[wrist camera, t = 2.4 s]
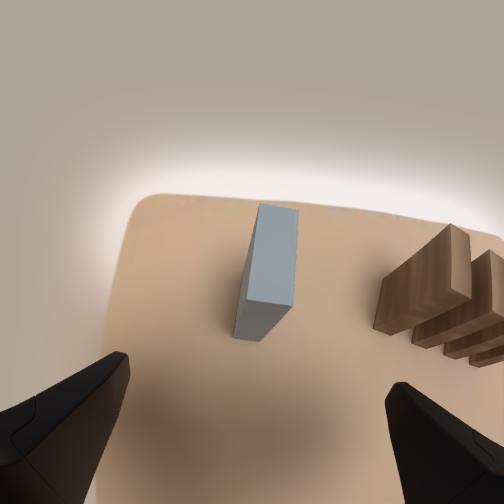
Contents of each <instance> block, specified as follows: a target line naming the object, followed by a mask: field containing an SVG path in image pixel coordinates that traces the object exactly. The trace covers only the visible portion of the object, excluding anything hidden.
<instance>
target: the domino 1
mask: <svg viewBox="0 0 504 504" xmlns="http://www.w3.org/2000/svg"><path fill="white" fill-rule="evenodd" d="M298 215H299V210H294V209H289V208H284V207H278V206H273V205H267V204H261V203H260V204H259V209H258V213H257V217H256V221H255V225H254V229H253V234H252V238H251V242H250V246H249V250H248V254H247V259H246V263H245V267H244V271H243V275H242V281H241V288H240V295H239V301H238V308H237V315H236V322H235V329H234V336H233V338H236V339H243V340H250V341H257V342H260V341H261V340H262V339H263V338H264V337H265V336H266V334H267V333H268V332H269V331H270V330H271V329H272V328H273V327H274V326H275V325H276V324H277V323H278V322H279V321H280V320H281V319H282V317H283V316H284V315H285V314H286V313H287V312H288V311H289V310H290V309H291V308H292V307H293V301H294V287H295V272H296V256H297V237H298Z"/></svg>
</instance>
